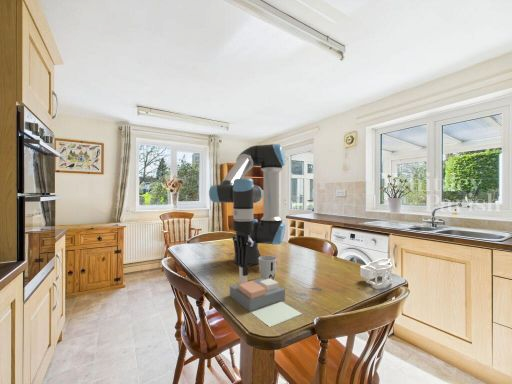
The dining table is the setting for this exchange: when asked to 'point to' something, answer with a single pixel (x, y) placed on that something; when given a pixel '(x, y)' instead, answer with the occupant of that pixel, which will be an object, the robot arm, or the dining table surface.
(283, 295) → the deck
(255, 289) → the tile
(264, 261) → the cup
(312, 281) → the dining table surface
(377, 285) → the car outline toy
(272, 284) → the small tile
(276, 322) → the mat
